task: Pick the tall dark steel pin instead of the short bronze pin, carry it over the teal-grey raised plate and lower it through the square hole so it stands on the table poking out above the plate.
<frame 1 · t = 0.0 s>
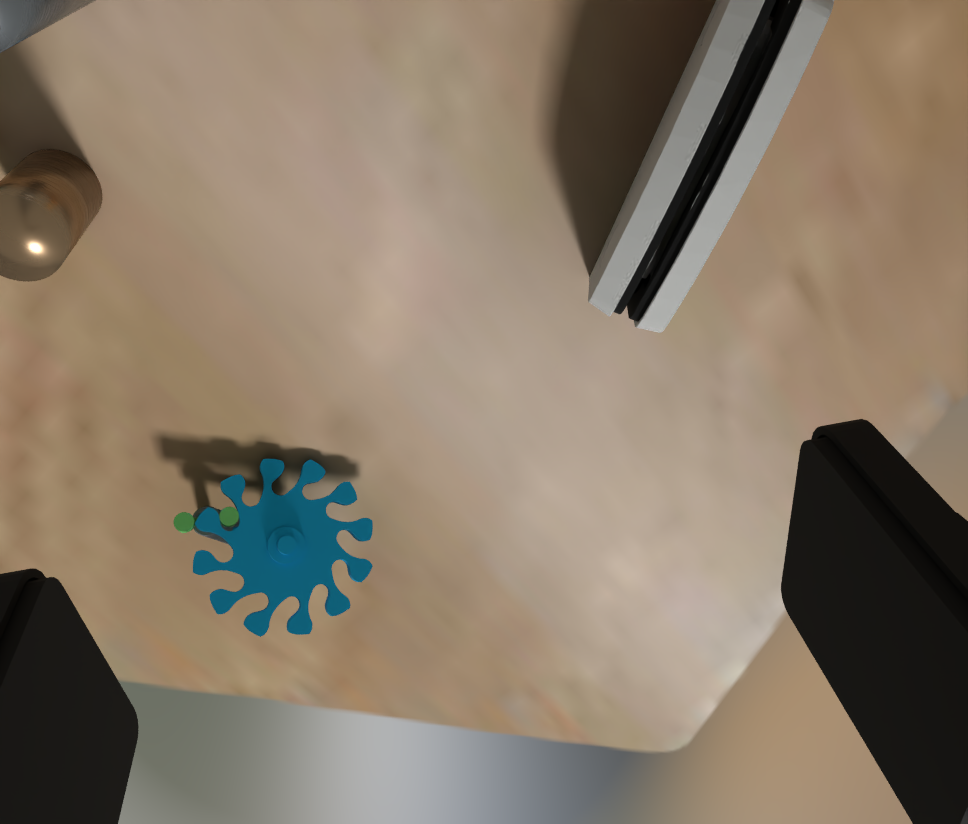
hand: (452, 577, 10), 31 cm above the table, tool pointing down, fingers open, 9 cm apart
napkin holder: (674, 134, 40), on the table
short pin: (59, 189, 37), on the table
gear: (280, 498, 49), on the table
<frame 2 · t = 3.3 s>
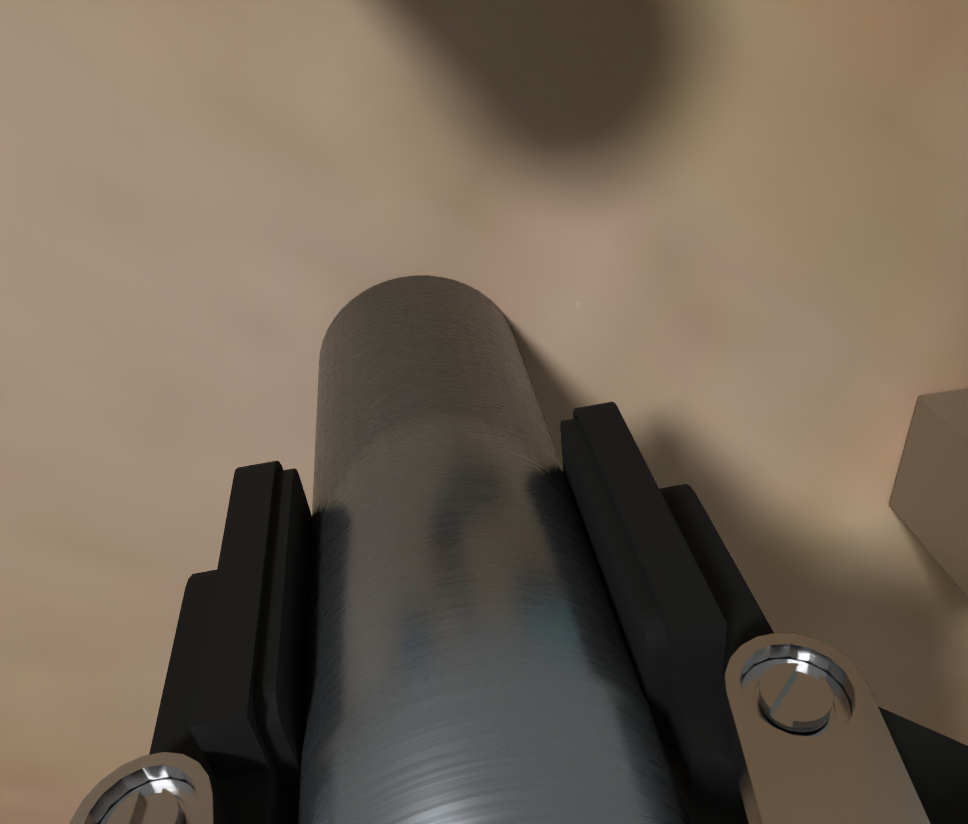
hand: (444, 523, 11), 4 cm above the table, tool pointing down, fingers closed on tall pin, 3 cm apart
tall pin: (419, 366, 15), on the table, touching gripper
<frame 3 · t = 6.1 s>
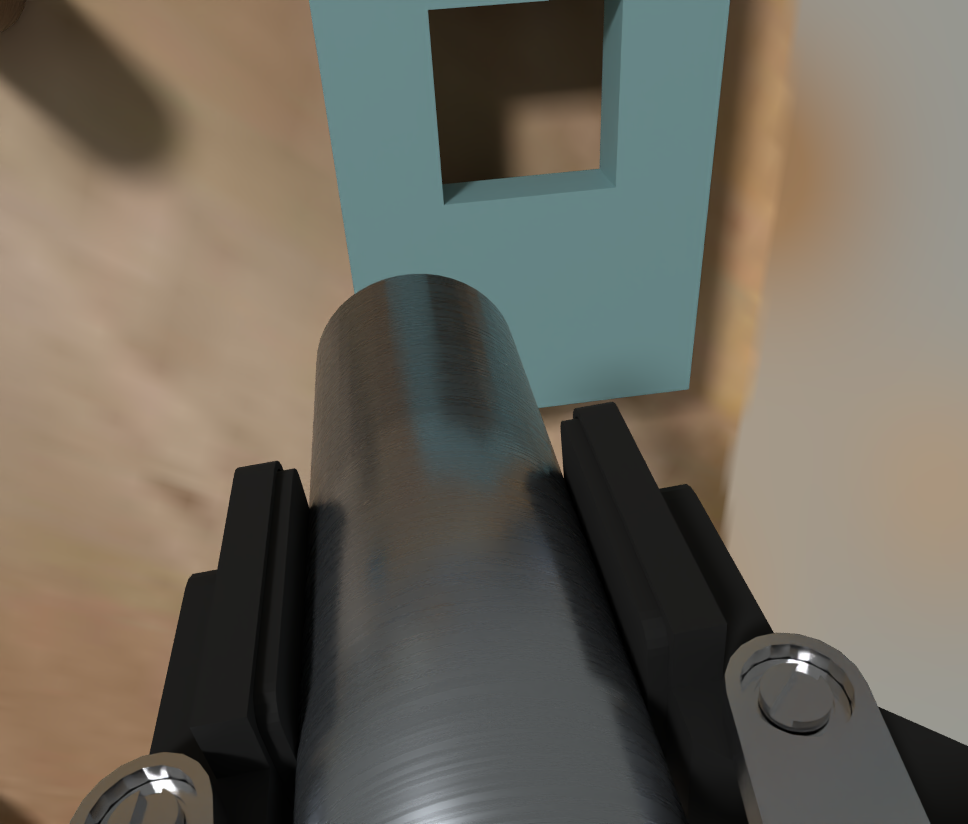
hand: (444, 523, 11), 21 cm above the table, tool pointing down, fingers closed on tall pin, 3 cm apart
hole bridge: (501, 71, 29), on the table
tall pin: (417, 365, 15), point 17 cm above the table, touching gripper
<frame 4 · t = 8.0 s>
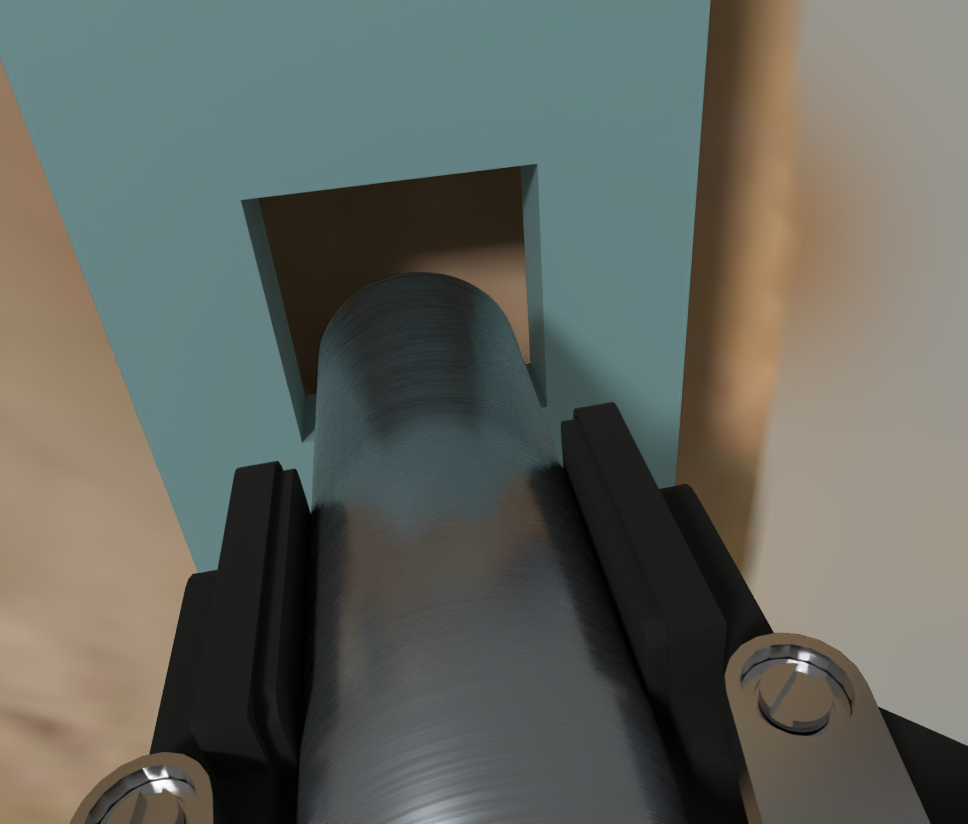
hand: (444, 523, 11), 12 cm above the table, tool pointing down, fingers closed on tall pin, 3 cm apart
hole bridge: (396, 227, 21), on the table
tall pin: (419, 363, 15), point 7 cm above the table, touching gripper
when the fingers open (7 cm above the table, at t = 9.2 s): tall pin drops 2 cm, on the table.
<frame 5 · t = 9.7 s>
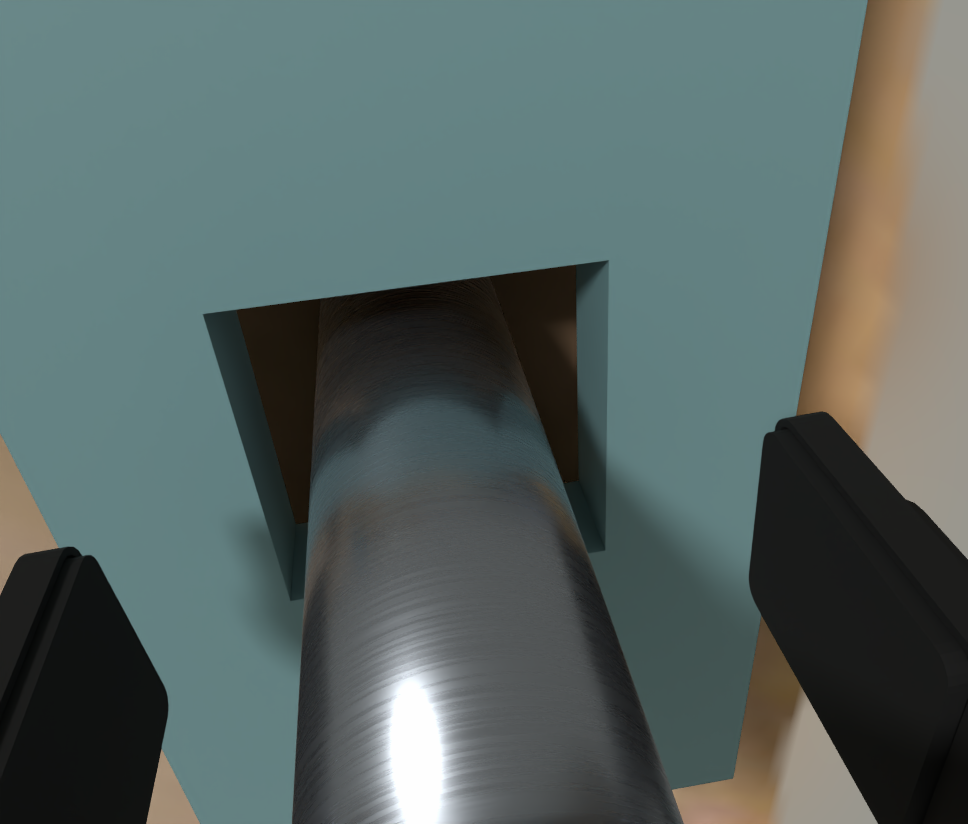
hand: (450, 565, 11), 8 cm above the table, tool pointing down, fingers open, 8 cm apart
hole bridge: (410, 306, 17), on the table
tall pin: (408, 307, 17), on the table
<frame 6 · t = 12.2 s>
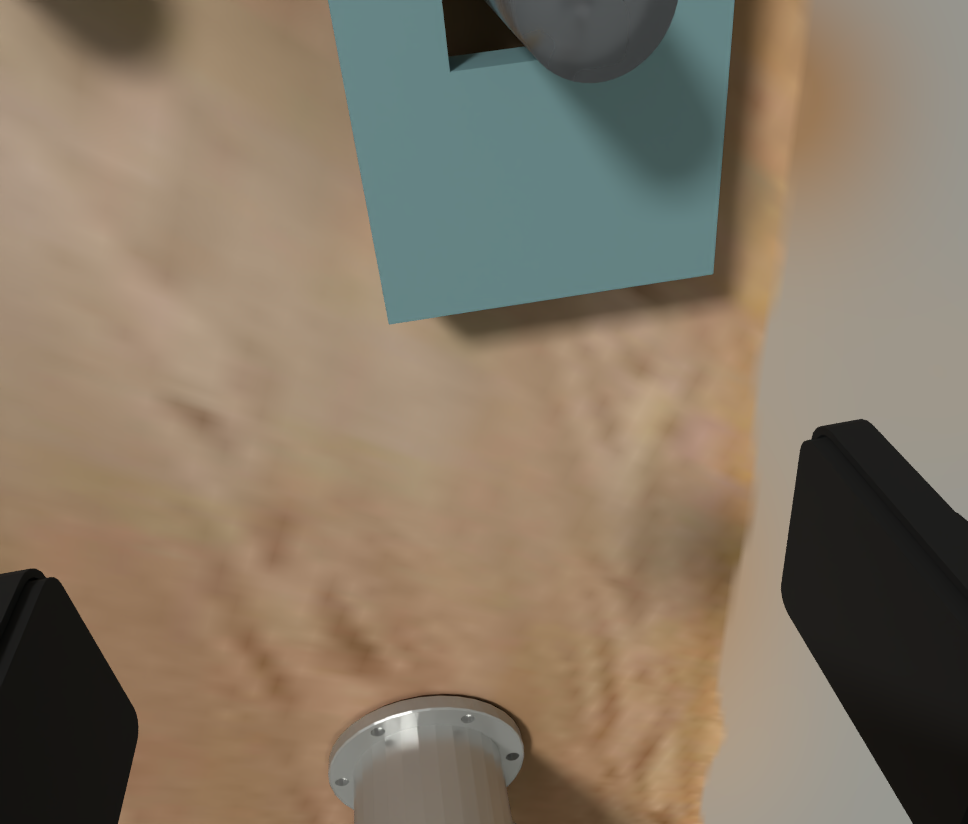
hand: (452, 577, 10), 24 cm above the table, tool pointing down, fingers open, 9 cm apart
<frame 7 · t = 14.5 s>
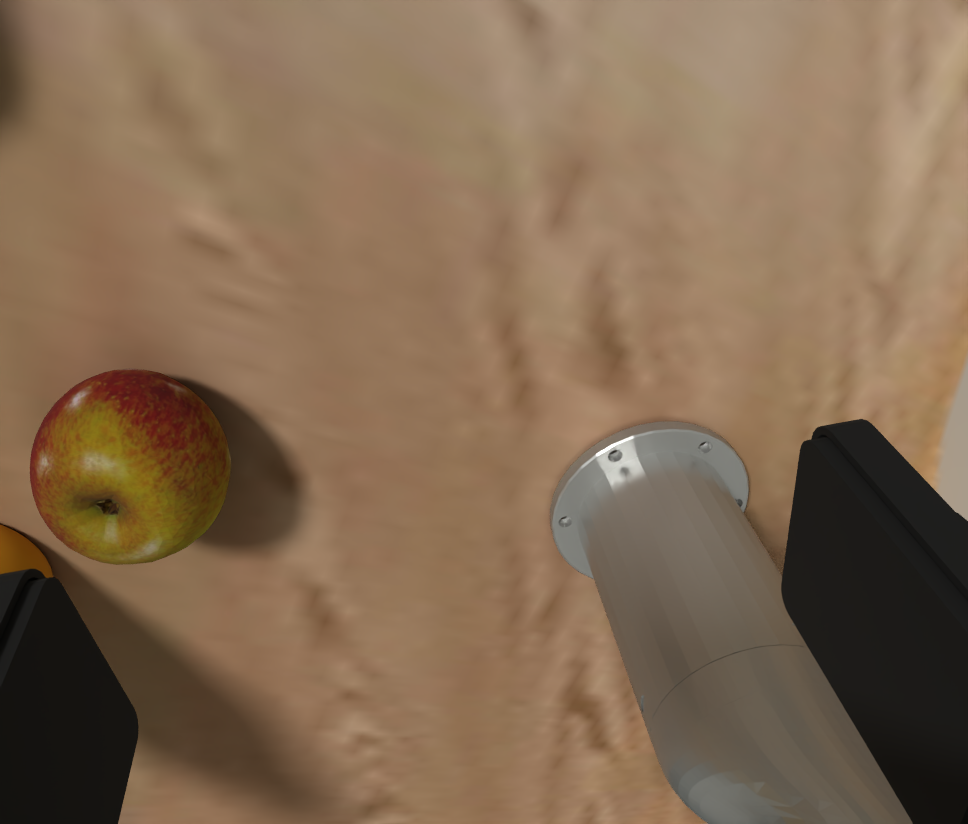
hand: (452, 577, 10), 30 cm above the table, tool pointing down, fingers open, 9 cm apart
fruit: (150, 419, 43), on the table
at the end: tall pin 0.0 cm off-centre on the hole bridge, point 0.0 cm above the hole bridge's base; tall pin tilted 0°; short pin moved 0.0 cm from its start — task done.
